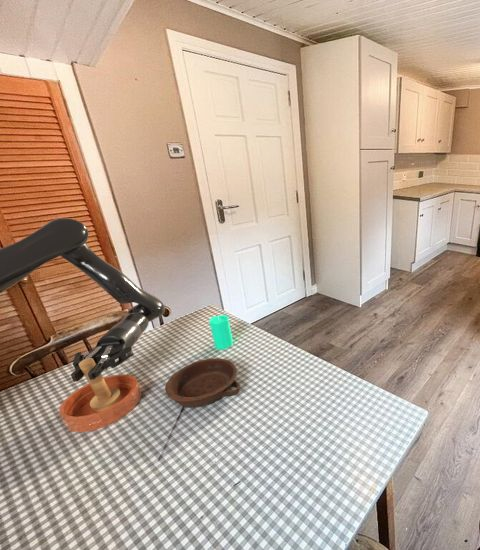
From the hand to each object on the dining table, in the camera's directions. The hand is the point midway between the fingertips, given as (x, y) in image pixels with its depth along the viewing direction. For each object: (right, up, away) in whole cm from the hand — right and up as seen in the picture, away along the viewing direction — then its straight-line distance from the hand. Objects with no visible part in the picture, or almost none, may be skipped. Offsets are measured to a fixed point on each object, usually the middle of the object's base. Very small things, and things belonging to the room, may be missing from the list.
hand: (82, 377), depth 73 cm
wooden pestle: (-1, -9, +8) cm, 12 cm away
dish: (+23, -9, +14) cm, 28 cm away
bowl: (-1, -11, +7) cm, 13 cm away
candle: (+18, 0, +35) cm, 39 cm away
